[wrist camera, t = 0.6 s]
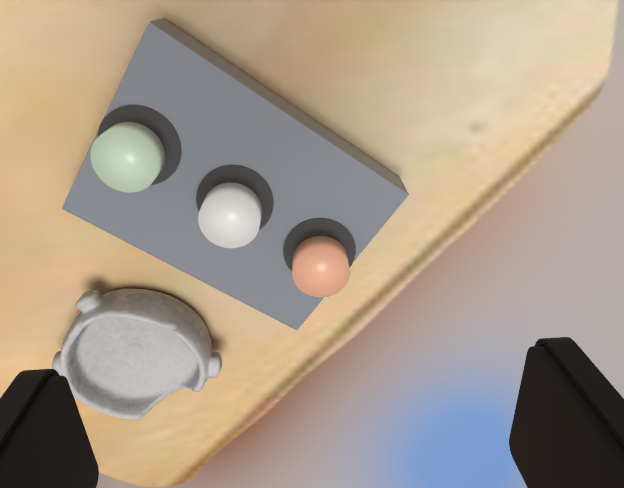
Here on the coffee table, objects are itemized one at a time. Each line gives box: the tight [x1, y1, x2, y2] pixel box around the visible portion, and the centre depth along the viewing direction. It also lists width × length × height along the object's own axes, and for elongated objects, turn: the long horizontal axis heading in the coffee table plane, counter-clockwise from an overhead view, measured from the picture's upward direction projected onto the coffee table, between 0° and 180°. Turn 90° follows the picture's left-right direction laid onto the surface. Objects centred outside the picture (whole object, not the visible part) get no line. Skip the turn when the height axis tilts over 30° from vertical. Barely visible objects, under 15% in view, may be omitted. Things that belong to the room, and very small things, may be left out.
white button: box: [198, 183, 262, 248], centre depth 35 cm, size 4×4×2 cm
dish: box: [52, 289, 222, 419], centre depth 47 cm, size 14×14×5 cm
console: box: [62, 18, 409, 330], centre depth 39 cm, size 16×22×4 cm
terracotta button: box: [292, 236, 350, 297], centre depth 37 cm, size 4×4×2 cm
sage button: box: [91, 122, 165, 193], centre depth 33 cm, size 4×4×2 cm
